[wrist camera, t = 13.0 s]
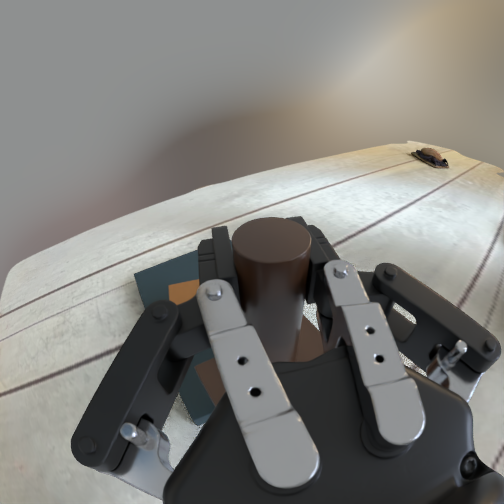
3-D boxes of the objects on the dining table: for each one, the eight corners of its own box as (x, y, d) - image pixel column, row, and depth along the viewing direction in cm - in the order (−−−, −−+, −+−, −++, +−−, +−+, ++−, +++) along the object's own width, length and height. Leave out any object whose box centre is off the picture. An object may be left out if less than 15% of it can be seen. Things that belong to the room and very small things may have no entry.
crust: (203, 293, 26) (200, 278, 24) (208, 317, 23) (204, 302, 22) (173, 299, 25) (168, 284, 24) (175, 323, 23) (169, 309, 22)
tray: (229, 247, 34) (228, 237, 33) (327, 355, 21) (330, 346, 20) (137, 283, 29) (133, 273, 28) (197, 426, 17) (192, 420, 16)
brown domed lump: (409, 154, 66) (411, 142, 64) (427, 155, 67) (428, 144, 65) (433, 168, 58) (436, 155, 55) (450, 168, 59) (453, 156, 57)
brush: (299, 333, 20) (314, 188, 13) (337, 375, 16) (389, 232, 10) (201, 383, 17) (146, 243, 10) (233, 437, 13) (186, 331, 6)
